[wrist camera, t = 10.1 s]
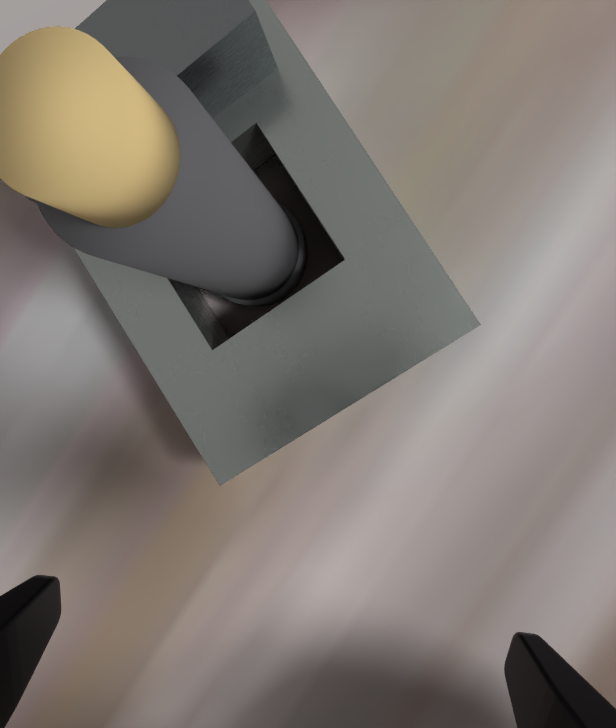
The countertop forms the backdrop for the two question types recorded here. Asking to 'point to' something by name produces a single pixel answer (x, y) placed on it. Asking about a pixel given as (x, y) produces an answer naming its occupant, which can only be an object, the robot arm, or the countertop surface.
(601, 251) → the countertop surface
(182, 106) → the plug
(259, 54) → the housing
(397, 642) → the countertop surface
